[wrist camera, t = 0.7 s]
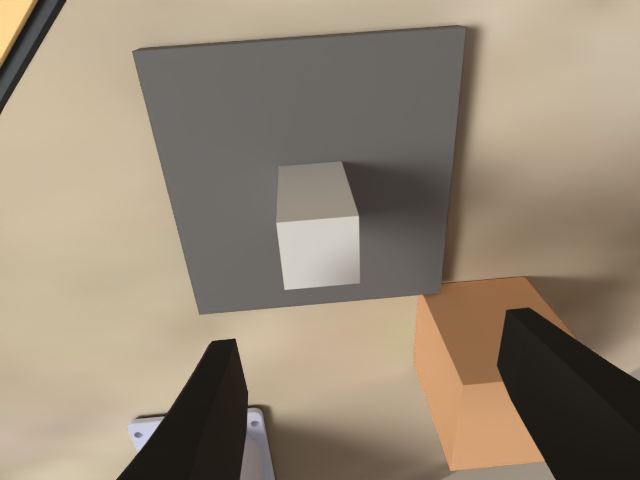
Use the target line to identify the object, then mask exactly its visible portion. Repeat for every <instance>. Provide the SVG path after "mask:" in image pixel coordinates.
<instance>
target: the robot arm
mask: <svg viewBox="0 0 640 480" xmlns="http://www.w3.org/2000/svg"><path fill="white" fill-rule="evenodd" d="M497 368H498V370H499V373H500V375H501V378H502V380H503V383H504V385H505V388H506V390H507V392H508V395H509V397H510V399H511V401H512V403H513V405H514V407H515V409H516V411H517V412H518V414H519V416H520V418H521V420H522V421H523V423H524V425H525V427H526V428H527V430H528V432H529V434H530V435H531V437H532V439H533V441H534V442H535V444H536V446H537V448H538V449H539V451H540V453H541V455H542V456H543V458H544V460H545V462H546V463H547V465H548V467H549V469H550V470H551V472H552V474H553V476H554V477H555V479H556V480H640V381H638V380H637V379H635V378H634V377H632V376H630V375H629V374H627V373H625V372H624V371H622V370H621V369H619V368H618V367H616V366H615V365H613V364H611V363H610V362H608V361H607V360H605V359H604V358H602V357H601V356H599V355H598V354H596V353H595V352H593V351H592V350H590V349H589V348H587V347H586V346H585V345H583V344H582V343H580V342H579V341H577V340H576V339H574V338H573V337H572V336H570V335H569V334H567V333H566V332H564V331H563V330H561V329H560V328H559V327H557V326H556V325H554V324H553V323H551V322H550V321H549V320H547V319H546V318H544V317H543V316H541V315H540V314H538V313H537V312H535V311H534V310H532V309H531V308H529V307H527V308H518V309H508V310H506V314H505V320H504V326H503V332H502V338H501V343H500V349H499V355H498V361H497ZM128 431H129V434H130V436H131V438H132V440H133V443H134V445H135V447H136V450H137V452H138V454H137V455H136V456H135V457H134V459H133V460H132V461H131V462H130V464H129V465H128V466H127V467H126V469H125V470H124V471H123V472H122V473H121V475H120V476H119V477H118V478H117V479H116V480H275V476H274V471H273V465H272V460H271V455H270V450H269V444H268V439H267V434H266V429H265V423H264V418H263V413H262V411H261V410H260V409H258V408H248V390H247V386H246V382H245V378H244V373H243V369H242V365H241V360H240V356H239V352H238V348H237V343H236V339H227V340H217V341H212V342H211V343H210V344H209V345H208V347H207V349H206V351H205V353H204V354H203V356H202V358H201V360H200V361H199V363H198V365H197V367H196V368H195V370H194V372H193V373H192V375H191V377H190V378H189V380H188V382H187V383H186V385H185V386H184V388H183V390H182V391H181V393H180V394H179V396H178V397H177V399H176V400H175V402H174V404H173V405H172V407H171V408H170V410H169V411H168V413H167V414H166V416H163V417H152V418H142V419H134V420H132V421H130V423H129V425H128Z"/></svg>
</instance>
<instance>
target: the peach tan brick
mask: <svg viewBox="0 0 640 480" xmlns="http://www.w3.org/2000/svg"><path fill="white" fill-rule="evenodd" d="M527 307H529V308H531V309H532V310H534V311H535V312H537V313H538V314H540V315H541V316H543V317H544V318H546V319H547V320H549V321H550V322H551V323H553V324H554V325H556V326H557V327H559V328H560V329H561V330H563V331H564V332H566V333H567V334H569V335H570V336H572V337H573V338H574V339H576V338H575V337H574V336H573V335H572V333H571V332H570V331H569V330H568V329H567V327H566V326H565V325H564V324H563V322H562V321H561V320H560V319H559V318H558V316H557V315H556V314H555V313H554V312H553V310H552V309H551V308H550V307H549V306H548V304H547V303H546V302H545V301H544V299H543V298H542V297H541V296H540V295H539V293H538V292H537V291H536V290H535V289H534V287H533V286H532V285H531V284H530V283H529V281H528V280H527V279H526V278H525V277H513V278H502V279H491V280H480V281H468V282H457V283H446V284H441V291H440V293H436V294H425V295H418V308H417V323H416V338H415V353H414V365H415V368H416V371H417V374H418V377H419V380H420V383H421V386H422V389H423V392H424V395H425V398H426V401H427V404H428V407H429V410H430V412H431V415H432V418H433V421H434V424H435V427H436V430H437V433H438V436H439V439H440V442H441V445H442V448H443V451H444V454H445V457H446V460H447V463H448V465H449V468H450V471H455V470H465V469H474V468H484V467H494V466H505V465H513V464H514V465H515V464H524V463H533V462H544V461H545V460H544V458H543V456H542V455H541V453H540V451H539V449H538V448H537V446H536V444H535V442H534V441H533V439H532V437H531V435H530V434H529V432H528V430H527V428H526V427H525V425H524V423H523V421H522V420H521V418H520V416H519V414H518V412H517V411H516V409H515V407H514V405H513V403H512V401H511V399H510V397H509V395H508V392H507V390H506V388H505V385H504V383H503V380H502V378H501V375H500V373H499V370H498V368H497V361H498V355H499V349H500V343H501V338H502V332H503V326H504V320H505V314H506V310H508V309H518V308H527ZM576 340H577V339H576Z"/></svg>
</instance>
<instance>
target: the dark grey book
mask: <svg viewBox="0 0 640 480" xmlns="http://www.w3.org/2000/svg"><path fill="white" fill-rule="evenodd" d="M65 1H66V0H0V113H1V111H2V109H3V107H4V105H5V104H6V102H7V100H8V99H9V97H10V95H11V93H12V92H13V90H14V88H15V87H16V85H17V83H18V81H19V80H20V78H21V76H22V75H23V73H24V71H25V69H26V68H27V66H28V64H29V62H30V61H31V59H32V57H33V56H34V54H35V52H36V50H37V49H38V47H39V45H40V44H41V42H42V40H43V38H44V37H45V35H46V33H47V32H48V30H49V28H50V26H51V25H52V23H53V21H54V20H55V18H56V16H57V14H58V13H59V11H60V9H61V8H62V6H63V4H64V2H65Z"/></svg>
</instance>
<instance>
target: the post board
mask: <svg viewBox="0 0 640 480" xmlns="http://www.w3.org/2000/svg"><path fill="white" fill-rule="evenodd" d="M465 34H466V27H463V26H458V25H452V26H439V27H425V28H411V29H397V30H384V31H370V32H356V33H342V34H329V35H315V36H301V37H287V38H274V39H260V40H246V41H232V42H219V43H205V44H191V45H177V46H164V47H150V48H139V49H137V50H135V51H132V53H133V57H134V61H135V65H136V69H137V73H138V77H139V81H140V85H141V89H142V92H143V96H144V100H145V104H146V108H147V112H148V116H149V120H150V124H151V128H152V132H153V135H154V139H155V143H156V147H157V151H158V155H159V159H160V163H161V167H162V171H163V175H164V178H165V182H166V186H167V190H168V194H169V198H170V202H171V206H172V210H173V214H174V218H175V221H176V225H177V229H178V233H179V237H180V241H181V245H182V249H183V253H184V257H185V261H186V264H187V268H188V272H189V276H190V280H191V284H192V288H193V292H194V296H195V300H196V304H197V307H198V311H199V315H201V314H212V313H224V312H235V311H246V310H257V309H268V308H279V307H291V306H302V305H313V304H324V303H335V302H346V301H358V300H369V299H380V298H391V297H402V296H413V295H425V294H436V293H440V291H441V280H442V270H443V260H444V250H445V239H446V229H447V219H448V208H449V198H450V188H451V178H452V167H453V157H454V147H455V136H456V126H457V116H458V106H459V95H460V85H461V75H462V65H463V54H464V44H465Z"/></svg>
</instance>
